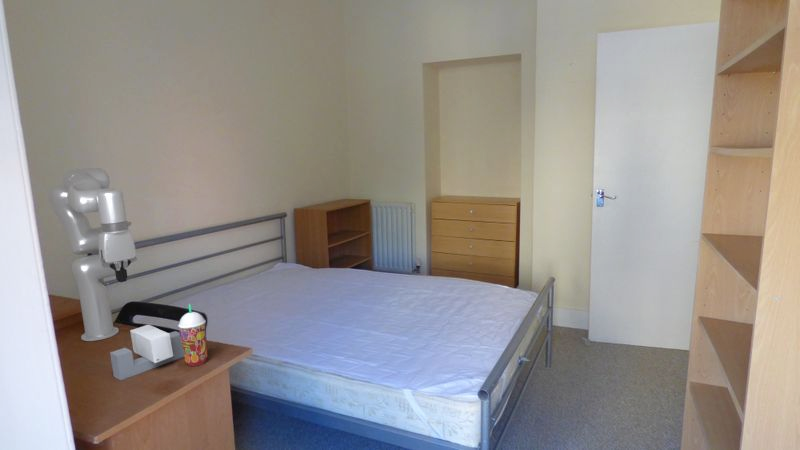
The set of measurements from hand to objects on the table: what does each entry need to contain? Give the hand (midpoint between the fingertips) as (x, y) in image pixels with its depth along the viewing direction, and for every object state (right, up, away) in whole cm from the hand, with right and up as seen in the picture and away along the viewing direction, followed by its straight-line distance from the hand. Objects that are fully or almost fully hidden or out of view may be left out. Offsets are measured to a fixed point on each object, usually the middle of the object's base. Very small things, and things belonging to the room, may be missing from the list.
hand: (122, 281), depth 169 cm
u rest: (+11, -27, -4) cm, 30 cm away
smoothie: (+26, -27, -3) cm, 38 cm away
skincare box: (+5, -19, +2) cm, 20 cm away
